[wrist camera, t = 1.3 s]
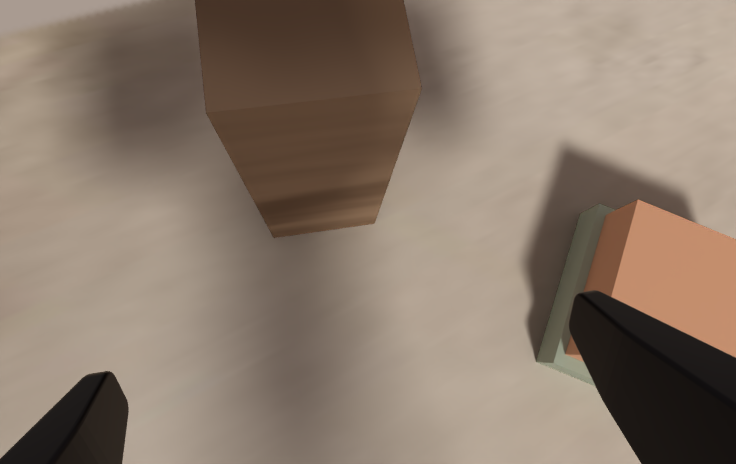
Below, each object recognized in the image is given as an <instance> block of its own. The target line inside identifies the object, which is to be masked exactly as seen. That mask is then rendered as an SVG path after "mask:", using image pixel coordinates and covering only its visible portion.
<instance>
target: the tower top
mask: <svg viewBox="0 0 736 464" xmlns="http://www.w3.org/2000/svg"><path fill="white" fill-rule="evenodd" d="M592 290H597V291H600V292H602V293H604V294H606V295H609V296H611V297H613V298H615V299H617V300H619V301H621V302H623V303H625V304H627V305H629V306H631V307H633V308H635V309H637V310H639V311H641V312H643V313H645V314H648V315H650V316H652V317H654V318H656V319H658V320H660V321H662V322H664V323H666V324H668V325H670V326H672V327H674V328H676V329H678V330H680V331H682V332H684V333H686V334H689V335H691V336H693V337H695V338H697V339H699V340H701V341H703V342H705V343H707V344H709V345H711V346H713V347H715V348H717V349H719V350H721V351H723V352H725V353H727V354H730V355H732V356H734V357H736V239H734V238H731V237H729V236H726V235H724V234H721V233H719V232H717V231H714V230H712V229H709V228H707V227H704V226H702V225H699V224H697V223H695V222H692V221H690V220H687V219H685V218H682V217H680V216H677V215H675V214H673V213H670V212H668V211H665V210H663V209H660V208H658V207H655V206H653V205H650V204H648V203H646V202H643V201H641V200H636V201H634V202H632V203H630V204H627V205H625V206H623V207H621V208H619V209H617V210H615V211H613V212H611V213H609V214H607V215H606V216H605V219H604V223H603V226H602V230H601V233H600V236H599V240H598V243H597V247H596V250H595V254H594V257H593V261H592V264H591V267H590V271H589V274H588V278H587V281H586V285H585V288H584V291H583V292H586V291H592ZM565 355H568V356H570V357H573V358H575V359H577V360H580V361H582V362H584V361H583V359H582V357H581V355H580V353H579V351H578V349H577V347H576V344H575V342H574V340H573V338H572V336H570V340H569V343H568V346H567V350H566V353H565Z"/></svg>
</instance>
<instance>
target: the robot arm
mask: <svg viewBox="0 0 736 464" xmlns="http://www.w3.org/2000/svg"><path fill="white" fill-rule="evenodd" d="M569 330H570V334H571V336H572V338H573V340H574V342H575V344H576V347H577V349H578V351H579V353H580V355H581V357H582V359H583V361H584V363H585V365H586V367H587V369H588V371H589V374H590V376H591V378H592V380H593V382H594V384H595V386H596V388H597V390H598V392H599V394H600V396H601V398H602V400H603V402H604V403H605V405H606V407H607V408H608V410H609V412H610V413H611V415H612V417H613V418H614V420H615V422H616V423H617V425H618V426H619V428H620V430H621V431H622V433H623V435H624V436H625V438H626V439H627V441H628V443H629V444H630V446H631V447H632V449H633V451H634V452H635V454H636V456H637V457H638V459H639V460H640V462H641V464H736V357H734V356H732V355H730V354H727V353H725V352H723V351H721V350H719V349H717V348H715V347H713V346H711V345H709V344H707V343H705V342H703V341H701V340H699V339H697V338H695V337H693V336H691V335H689V334H686V333H684V332H682V331H680V330H678V329H676V328H674V327H672V326H670V325H668V324H666V323H664V322H662V321H660V320H658V319H656V318H654V317H652V316H650V315H648V314H645V313H643V312H641V311H639V310H637V309H635V308H633V307H631V306H629V305H627V304H625V303H623V302H621V301H619V300H617V299H615V298H613V297H611V296H609V295H606V294H604V293H602V292H600V291H597V290H592V291H586V292H580V293H578V294H576V296H575V297H574V301H573V305H572V310H571V315H570V319H569ZM127 419H128V402H127V399H126V397H125V395H124V393H123V391H122V389H121V387H120V385H119V383H118V381H117V379H116V377H115V375H114V374H113V373H112V372H110V371H105V372H99V373H93V374H88V375H86V376H85V377H83V378H82V379H81V380H80V381H79V382H78V383H77V384H76V385H75V386H74V387H73V388H72V389H71V390H70V391H69V392H68V393H67V394H66V395H65V396H64V397H63V398H62V399H61V400H60V401H59V402H58V403H57V404H56V405H55V406H54V407H53V408H52V409H51V410H49V411H48V412H47V413H46V414H45V415H44V416H43V417H42V418H41V419H40V420H39V421H38V422H37V423H36V424H35V425H34V426H33V427H32V428H31V429H30V430H29V431H28V432H27V433H26V434H25V435H24V436H23V437H22V438H21V439H20V440H19V441H18V442H17V443H16V444H15V445H14V446H13V447H12V448H11V449H10V450H9V451H8V452H7V453H6V454H5V455H4V456H3V457H2V458H1V459H0V464H122V460H123V452H124V444H125V436H126V428H127Z"/></svg>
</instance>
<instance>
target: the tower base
mask: <svg viewBox="0 0 736 464" xmlns="http://www.w3.org/2000/svg"><path fill="white" fill-rule="evenodd" d="M613 211H615V209H612V208H610V207H607V206H605V205H602V204H600V203H599V204H597V205H596V206H594V207H592V208H590V209H588V210H586V211H584V212H583V213H581V214H580V216H579V219H578V223H577V226H576V229H575V233H574V236H573V239H572V243H571V246H570V249H569V253H568V256H567V260H566V263H565V266H564V270H563V273H562V276H561V280H560V283H559V286H558V290H557V293H556V296H555V300H554V303H553V307H552V310H551V313H550V317H549V320H548V323H547V327H546V330H545V333H544V337H543V340H542V343H541V347H540V350H539V353H538V357H537V360H536V362H538V363H540V364H542V365H545V366H547V367H550V368H552V369H555V370H557V371H559V372H562V373H564V374H567V375H569V376H572V377H574V378H577V379H579V380H581V381H584V382H586V383H589V384H591V385H594V386H595V384H594V382H593V380H592V378H591V376H590V374H589V371H588V369H587V367H586V365H585V363H584V362H582V361H580V360H577V359H575V358H573V357H570V356H568V355H565V353H566V350H567V346H568V343H569V340H570V336H571V334H570V330H569V319H570V315H571V310H572V305H573V301H574V297H575V296H576V294H578V293H580V292H583V291H584V288H585V285H586V281H587V278H588V274H589V271H590V267H591V264H592V261H593V257H594V254H595V250H596V247H597V243H598V240H599V236H600V233H601V230H602V226H603V223H604V219H605V216H606V215H607V214H609V213H611V212H613Z"/></svg>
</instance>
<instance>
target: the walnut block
mask: <svg viewBox="0 0 736 464" xmlns="http://www.w3.org/2000/svg"><path fill="white" fill-rule="evenodd" d="M195 6H196V16H197V26H198V36H199V46H200V56H201V66H202V76H203V86H204V96H205V106H206V114H207V115H208V117H209V119H210V121H211V123H212V125H213V126H214V128H215V130H216V132H217V134H218V136H219V138H220V139H221V141H222V143H223V145H224V147H225V149H226V150H227V152H228V154H229V156H230V158H231V160H232V162H233V163H234V165H235V167H236V169H237V171H238V173H239V174H240V176H241V178H242V180H243V182H244V184H245V186H246V187H247V189H248V191H249V193H250V195H251V197H252V198H253V200H254V202H255V204H256V206H257V208H258V210H259V211H260V213H261V215H262V217H263V219H264V221H265V222H266V224H267V226H268V228H269V230H270V232H271V233H272V235H273V237H274V238H277V237H284V236H291V235H298V234H305V233H312V232H319V231H326V230H333V229H340V228H347V227H354V226H361V225H368V224H374V223H375V221H376V218H377V215H378V212H379V209H380V206H381V203H382V201H383V198H384V195H385V192H386V189H387V186H388V184H389V181H390V178H391V175H392V172H393V169H394V166H395V164H396V161H397V158H398V155H399V152H400V149H401V146H402V144H403V141H404V138H405V135H406V132H407V129H408V127H409V124H410V121H411V118H412V115H413V112H414V109H415V107H416V104H417V101H418V98H419V95H420V92H421V90H422V87H421V82H420V77H419V72H418V68H417V63H416V58H415V53H414V48H413V44H412V39H411V34H410V29H409V24H408V19H407V15H406V10H405V5H404V0H195Z"/></svg>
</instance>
